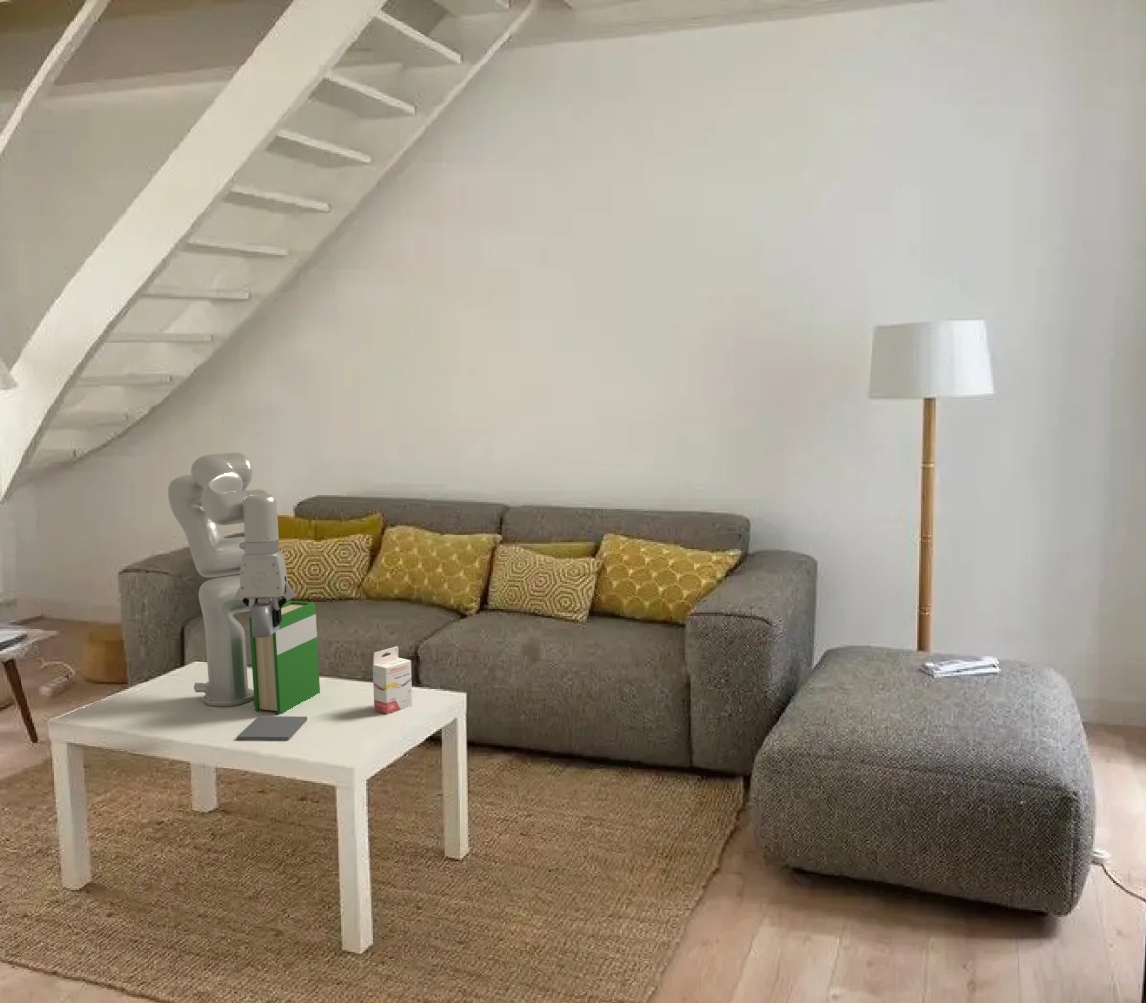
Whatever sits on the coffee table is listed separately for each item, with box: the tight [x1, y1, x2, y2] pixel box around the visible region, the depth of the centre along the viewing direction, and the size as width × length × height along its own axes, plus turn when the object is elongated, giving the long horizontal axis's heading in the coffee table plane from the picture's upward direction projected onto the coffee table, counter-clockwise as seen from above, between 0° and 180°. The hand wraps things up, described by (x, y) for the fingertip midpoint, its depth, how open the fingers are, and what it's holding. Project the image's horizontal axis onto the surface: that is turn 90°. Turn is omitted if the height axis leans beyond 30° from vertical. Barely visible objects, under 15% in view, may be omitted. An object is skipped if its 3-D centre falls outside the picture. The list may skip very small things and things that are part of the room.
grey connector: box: [250, 598, 279, 638], centre depth 264 cm, size 4×10×9 cm, turn 176°
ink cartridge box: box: [372, 645, 413, 715], centre depth 281 cm, size 9×5×15 cm, turn 141°
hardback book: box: [248, 600, 321, 715], centre depth 287 cm, size 18×7×24 cm, turn 160°
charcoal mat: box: [236, 715, 308, 741], centre depth 268 cm, size 12×14×1 cm
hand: (266, 624), depth 265 cm, fingers closed on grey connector, 4 cm apart
